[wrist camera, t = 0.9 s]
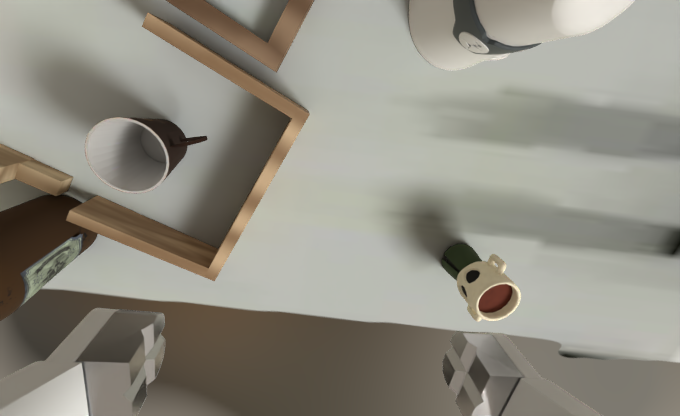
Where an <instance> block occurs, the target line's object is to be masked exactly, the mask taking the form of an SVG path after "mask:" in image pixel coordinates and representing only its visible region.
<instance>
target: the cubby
mask: <svg viewBox="0 0 680 416" xmlns="http://www.w3.org/2000/svg"><path fill="white" fill-rule="evenodd" d="M142 27H144V28H145V29H147V30H149V31H150V32H152V33H153V34H155V35H157V36H158V37H160V38H162V39H163V40H165V41H166V42H168V43H170V44H171V45H173V46H175V47H176V48H178V49H179V50H181V51H183V52H184V53H186V54H188V55H189V56H191V57H193V58H194V59H196V60H197V61H199V62H201V63H202V64H204V65H206V66H207V67H209V68H210V69H212V70H214V71H215V72H217V73H219V74H220V75H222V76H224V77H225V78H227V79H228V80H230V81H232V82H233V83H235V84H237V85H238V86H240V87H241V88H243V89H245V90H246V91H248V92H250V93H251V94H253V95H255V96H256V97H258V98H259V99H261V100H263V101H264V102H266V103H268V104H269V105H271V106H272V107H274V108H276V109H277V110H279V111H281V112H282V113H284V114H285V115H287V116H289V117H290V118H291V119H290V121H289V123H288V125H287V126H286V128H285V130H284V132H283V134H282V135H281V137H280V139H279V141H278V142H277V144H276V146H275V148H274V150H273V151H272V153H271V155H270V157H269V159H268V160H267V162H266V164H265V166H264V168H263V169H262V171H261V173H260V175H259V177H258V178H257V180H256V182H255V184H254V186H253V187H252V189H251V191H250V193H249V195H248V196H247V198H246V200H245V202H244V204H243V205H242V207H241V209H240V211H239V213H238V214H237V216H236V218H235V220H234V222H233V223H232V225H231V227H230V229H229V231H228V232H227V234H226V236H225V238H224V240H223V241H222V243H221V245H220V247H219V249H217V248H215V247H213V246H211V245H208V244H206V243H204V242H202V241H199V240H197V239H195V238H193V237H190V236H188V235H186V234H184V233H181V232H179V231H177V230H174V229H172V228H170V227H168V226H165V225H163V224H161V223H159V222H156V221H154V220H152V219H150V218H147V217H145V216H143V215H141V214H138V213H136V212H134V211H132V210H129V209H127V208H125V207H122V206H120V205H118V204H116V203H113V202H111V201H109V200H107V199H104V198H102V197H100V196H98V195H97V196H95V197H93V198H92V199H90V200H88V201H86V202H84V203H82V204H81V205H79V206H77V207H75V208H73V209H71V210H70V211H69V214H68V216H67V219H66V221H69V222H71V223H74V224H76V225H78V226H81V227H83V228H86V229H88V230H91V231H93V232H96V233H98V234H100V235H103V236H105V237H108V238H110V239H113V240H115V241H118V242H120V243H122V244H125V245H127V246H130V247H132V248H135V249H137V250H140V251H142V252H144V253H147V254H149V255H152V256H154V257H157V258H159V259H161V260H164V261H166V262H169V263H171V264H174V265H176V266H179V267H181V268H183V269H186V270H188V271H191V272H193V273H196V274H198V275H201V276H203V277H205V278H208V279H210V280H213V281H215V279H216V278H217V276H218V274H219V272H220V271H221V269H222V267H223V265H224V264H225V262H226V260H227V258H228V257H229V255H230V253H231V251H232V249H233V248H234V246H235V244H236V242H237V241H238V239H239V237H240V235H241V234H242V232H243V230H244V228H245V227H246V225H247V223H248V221H249V220H250V218H251V216H252V214H253V213H254V211H255V209H256V207H257V206H258V204H259V202H260V200H261V199H262V197H263V195H264V193H265V192H266V190H267V188H268V186H269V185H270V183H271V181H272V179H273V178H274V176H275V174H276V172H277V171H278V169H279V167H280V165H281V164H282V162H283V160H284V158H285V157H286V155H287V153H288V151H289V150H290V148H291V146H292V144H293V143H294V141H295V139H296V137H297V136H298V134H299V132H300V130H301V129H302V127H303V125H304V123H305V122H306V120H307V118H308V116H309V115H310V114H309V112H308V111H307V110H306V109H304V108H303V107H301V106H300V105H298V104H296V103H295V102H293V101H292V100H290V99H288V98H287V97H285V96H284V95H282V94H281V93H279V92H277V91H276V90H274V89H273V88H271V87H269V86H268V85H266V84H265V83H263V82H262V81H260V80H258V79H257V78H255V77H254V76H252V75H250V74H249V73H247V72H246V71H244V70H243V69H241V68H239V67H238V66H236V65H235V64H233V63H231V62H230V61H228V60H227V59H225V58H224V57H222V56H220V55H219V54H217V53H216V52H214V51H212V50H211V49H209V48H208V47H206V46H205V45H203V44H201V43H200V42H198V41H197V40H195V39H193V38H192V37H190V36H189V35H187V34H186V33H184V32H182V31H181V30H179V29H178V28H176V27H174V26H173V25H171V24H170V23H168V22H166V21H164V20H162V19H160V18H158V17H156V16H154V15H152V14H150V13H147V15H146V18H145V20H144V23H143V25H142Z"/></svg>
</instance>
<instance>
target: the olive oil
mask: <svg viewBox="0 0 680 416" xmlns="http://www.w3.org/2000/svg"><path fill="white" fill-rule="evenodd" d="M81 204H82V203H81V202H79V201H77V200H75V199H73V198H71V197H68V196H64V195H58V196H54V195H52V194H51V195H45V196H41V197H38V198H36V199H33V200H30V201H28V202H25V203H23V204H20V205H17V206H15V207H12V208H10V209H7V210H4V211H1V212H0V321H1V320H3V319H4V318H6V317H7V316H9V315H10V314H12V313H13V312H14V311H16V310H17V309H18V308H19V307H20V306H21V305H22V304H24V303H25V302H26V301H27V300H28V299H29V298H30V297H32V296H33V295H34V294H35V293H36V292H37V291H38V290H39V289H40V288H42V287H43V286H44V285H45V284H46V283H47V282H48V281H50V280H51V279H52V278H53V277H54V276H55V275H56V274H58V273H59V272H60V271H61V270H62V269H63V268H65V267H66V266H67V265H68V264H69V263H70V262H72V261H73V260H74V259H75V258H76V257H77V256H78V255H80V254H81V253H82V252H83V251H85V250H86V249H87V248H88V247H89V246H90V245H91V244H92V243H93V242H94V241H95V239H96V237H97V234H98V233H96V232H93V231H91V230H88V229H86V228H83V227H81V226H78V225H76V224H74V223H71V222H69V221H66V219H67V216H68V214H69V211H70V210H71V209H73V208H75V207H77V206H79V205H81Z"/></svg>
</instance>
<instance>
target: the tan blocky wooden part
mask: <svg viewBox="0 0 680 416" xmlns="http://www.w3.org/2000/svg"><path fill="white" fill-rule="evenodd" d="M13 179H16V180H19V181H21V182H23V183H26V184H28V185H30V186H33V187H35V188H37V189H40V190H42V191H45V192H47V193H49V194H52V195H54V196H58V195H60V194H62V193H64V192H67V191H68V189H69V187H70V184H71V181H72V179H73V177H72V176H70V175H67V174H65V173H63V172H61V171H59V170H56V169H54V168H52V167H50V166H47V165H45V164H43V163H41V162H39V161H36V160H34V159H33V158H31V157H29V156H27V155H25V154H22V153H20V152H18V151H16V150H13V149H11V148H9V147H7V146H5V145H2V144H0V184H1V183H4V182H7V181H10V180H13Z"/></svg>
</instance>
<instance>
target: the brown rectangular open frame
mask: <svg viewBox="0 0 680 416" xmlns="http://www.w3.org/2000/svg"><path fill="white" fill-rule="evenodd" d="M166 1H167V2H169V3H171V4H172V5H174V6H175V7H177V8H178V9H180V10H181V11H183V12H184V13H186V14H187V15H189V16H190V17H192V18H194V19H195V20H197V21H198V22H200V23H201V24H203V25H204V26H206V27H207V28H209V29H210V30H212V31H214V32H215V33H217V34H218V35H220V36H221V37H223V38H224V39H226V40H227V41H229V42H230V43H232V44H234V45H235V46H237V47H238V48H240V49H241V50H243V51H244V52H246V53H247V54H249V55H250V56H252V57H253V58H255V59H257V60H258V61H260V62H261V63H263V64H264V65H266V66H267V67H269V68H270V69H272V70H273V71H275V72H277V71H278V69H279V67H280V65H281V63H282V61H283V59H284V57H285V56H286V54H287V52H288V50H289V48H290V46H291V44H292V42H293V40H294V38H295V36H296V35H297V33H298V31H299V29H300V27H301V25H302V23H303V21H304V19H305V17H306V15H307V13H308V12H309V10H310V8H311V6H312V4H313V2H314V0H289V1H288V3H287V5H286V7H285V9H284V11H283V13H282V15H281V17H280V19H279V21H278V23H277V25H276V27H275V29H274V31H273V33H272V35H271V37H270V39H269V41H268V43H266V42H265V41H264V40H262V39H261V38H259V37H258V36H256V35H255V34H253V33H252V32H250V31H249V30H247V29H246V28H244V27H243V26H241V25H240V24H238V23H237V22H235V21H234V20H232V19H231V18H229V17H228V16H226V15H225V14H224V13H222V12H221V11H219V10H218V9H216V8H215V7H213V6H212V5H210V4H209V3H207V2H206V1H204V0H166Z"/></svg>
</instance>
